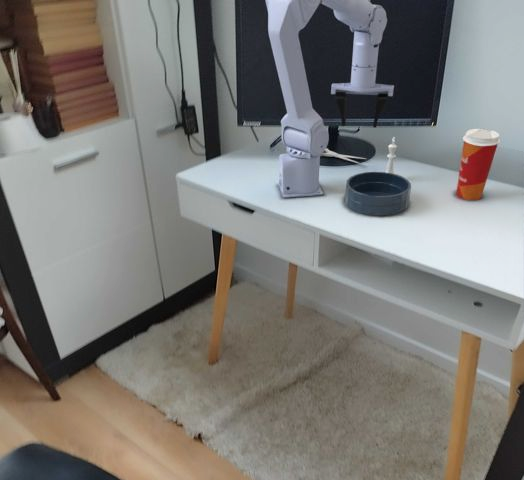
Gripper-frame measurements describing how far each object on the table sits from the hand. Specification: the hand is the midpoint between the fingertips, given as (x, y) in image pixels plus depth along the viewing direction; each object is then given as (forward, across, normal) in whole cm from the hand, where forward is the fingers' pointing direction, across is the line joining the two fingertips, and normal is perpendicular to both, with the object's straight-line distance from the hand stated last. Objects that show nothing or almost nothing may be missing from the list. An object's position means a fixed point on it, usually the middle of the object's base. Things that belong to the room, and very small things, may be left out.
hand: (359, 125), depth 135 cm
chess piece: (+11, -9, +6) cm, 15 cm away
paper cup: (+11, -27, +14) cm, 32 cm away
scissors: (+10, +6, -6) cm, 14 cm away
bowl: (+10, -7, +21) cm, 24 cm away
